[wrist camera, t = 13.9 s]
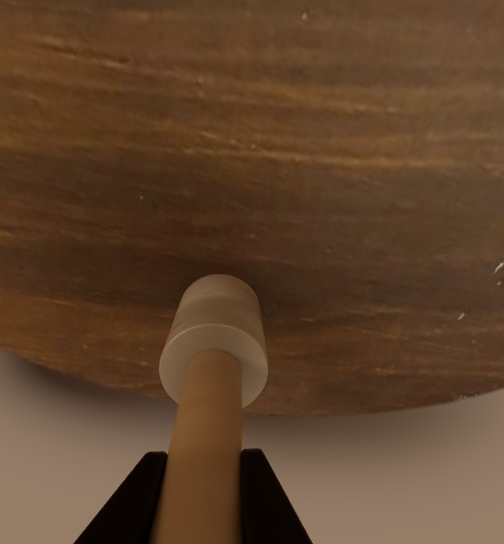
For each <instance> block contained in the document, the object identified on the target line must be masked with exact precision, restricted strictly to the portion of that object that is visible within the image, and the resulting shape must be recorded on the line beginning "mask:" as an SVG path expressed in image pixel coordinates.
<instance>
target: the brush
mask: <svg viewBox="0 0 504 544" xmlns="http://www.w3.org/2000/svg"><path fill="white" fill-rule="evenodd" d="M159 373H160V378H161V381H162V384H163V386H164V388H165V390H166V392H167V393H168V394H169V396H170V397H171V398H172V399H173V400H174V401H176V402H177V403H178V404H179V406H178V410H177V415H176V419H175V424H174V428H173V433H172V437H171V442H170V446H169V451H168V455H167V460H166V464H165V469H164V474H163V478H162V483H161V487H160V492H159V496H158V501H157V505H156V510H155V514H154V519H153V523H152V527H151V532H150V536H149V541H148V544H245V536H244V525H243V494H242V451H243V423H242V408H244V407H245V406H247V405H248V404H250V403H251V402H252V401H254V400H255V399H256V398H257V396H258V395H259V394H260V393H261V391H262V389H263V388H264V386H265V383H266V381H267V377H268V360H267V353H266V346H265V339H264V332H263V325H262V318H261V311H260V305H259V301H258V298H257V296H256V294H255V292H254V291H253V290H252V288H251V287H250V286H249V285H248V284H246V283H245V282H244V281H242V280H241V279H239V278H236V277H234V276H230V275H225V274H214V275H208V276H205V277H202V278H200V279H198V280H197V281H195V282H194V283H192V284H191V285H190V286H189V287H188V288H187V290H186V291H185V293H184V294H183V296H182V299H181V301H180V304H179V307H178V310H177V313H176V316H175V318H174V321H173V324H172V327H171V330H170V332H169V335H168V338H167V341H166V344H165V346H164V349H163V352H162V355H161V358H160V364H159Z"/></svg>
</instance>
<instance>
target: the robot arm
mask: <svg viewBox="0 0 504 544" xmlns="http://www.w3.org/2000/svg"><path fill="white" fill-rule="evenodd" d="M166 460H167V454H166V452H164V451H161V452H148V453H146V454H145V455H144V456H143V458H142V459H141V460H140V461H139V462H138V464H137V465H136V466H135V468H134V469H133V470H132V471H131V472H130V474H129V475H128V476H127V477H126V479H125V480H124V481H123V482H122V484H121V485H120V486H119V487H118V489H117V490H116V491H115V492H114V494H113V495H112V496H111V497H110V499H109V500H108V501H107V502H106V504H105V505H104V506H103V507H102V509H101V510H100V511H99V512H98V514H97V515H96V516H95V517H94V519H93V520H92V521H91V522H90V524H89V525H88V526H87V527H86V529H85V530H84V531H83V532H82V534H81V535H80V536H79V537H78V539H77V540H76V541H75V542H74V544H148V541H149V536H150V532H151V527H152V523H153V519H154V514H155V510H156V505H157V501H158V496H159V492H160V487H161V483H162V478H163V474H164V469H165V464H166ZM242 494H243V525H244V536H245V544H313V543H312V541H311V540H310V538H309V536H308V534H307V532H306V530H305V528H304V526H303V525H302V523H301V521H300V520H299V517H298V515H297V514H296V512H295V510H294V508H293V506H292V505H291V503H290V501H289V499H288V497H287V495H286V494H285V492H284V490H283V488H282V486H281V484H280V482H279V480H278V479H277V477H276V475H275V473H274V471H273V469H272V468H271V466H270V464H269V462H268V460H267V459H266V457H265V455H264V453H263V451H262V450H261V449H258V448H257V449H256V448H255V449H244V450H243V451H242Z"/></svg>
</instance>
